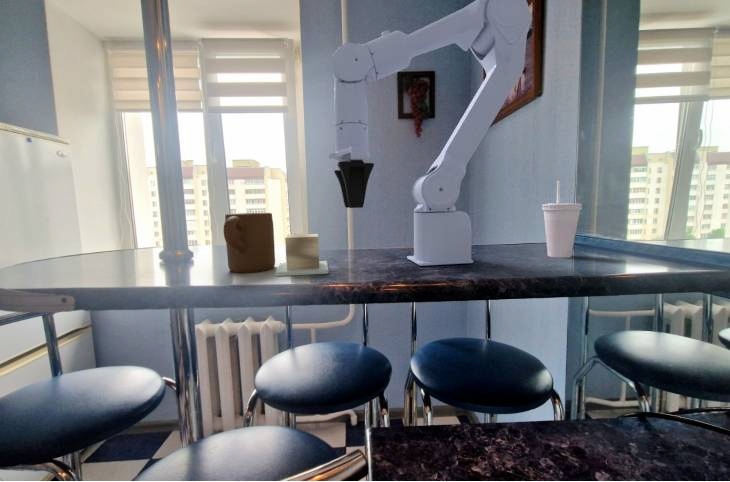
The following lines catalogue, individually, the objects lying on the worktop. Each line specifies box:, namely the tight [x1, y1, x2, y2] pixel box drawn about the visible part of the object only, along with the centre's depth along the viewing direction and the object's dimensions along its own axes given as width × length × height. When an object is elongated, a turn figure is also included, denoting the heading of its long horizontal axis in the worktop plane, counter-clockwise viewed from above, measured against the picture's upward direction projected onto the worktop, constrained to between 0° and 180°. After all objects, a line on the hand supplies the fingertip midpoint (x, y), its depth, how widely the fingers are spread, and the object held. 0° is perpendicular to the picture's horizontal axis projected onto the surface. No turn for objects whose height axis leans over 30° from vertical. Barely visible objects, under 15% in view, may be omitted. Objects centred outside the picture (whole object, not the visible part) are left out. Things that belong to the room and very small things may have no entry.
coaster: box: [274, 260, 330, 277], centre depth 53 cm, size 8×8×1 cm
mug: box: [223, 212, 276, 274], centre depth 52 cm, size 12×8×9 cm, turn 178°
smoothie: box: [541, 180, 583, 259], centre depth 59 cm, size 6×6×14 cm
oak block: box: [284, 233, 320, 270], centre depth 53 cm, size 5×5×5 cm
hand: (353, 207), depth 56 cm, fingers open, 7 cm apart
